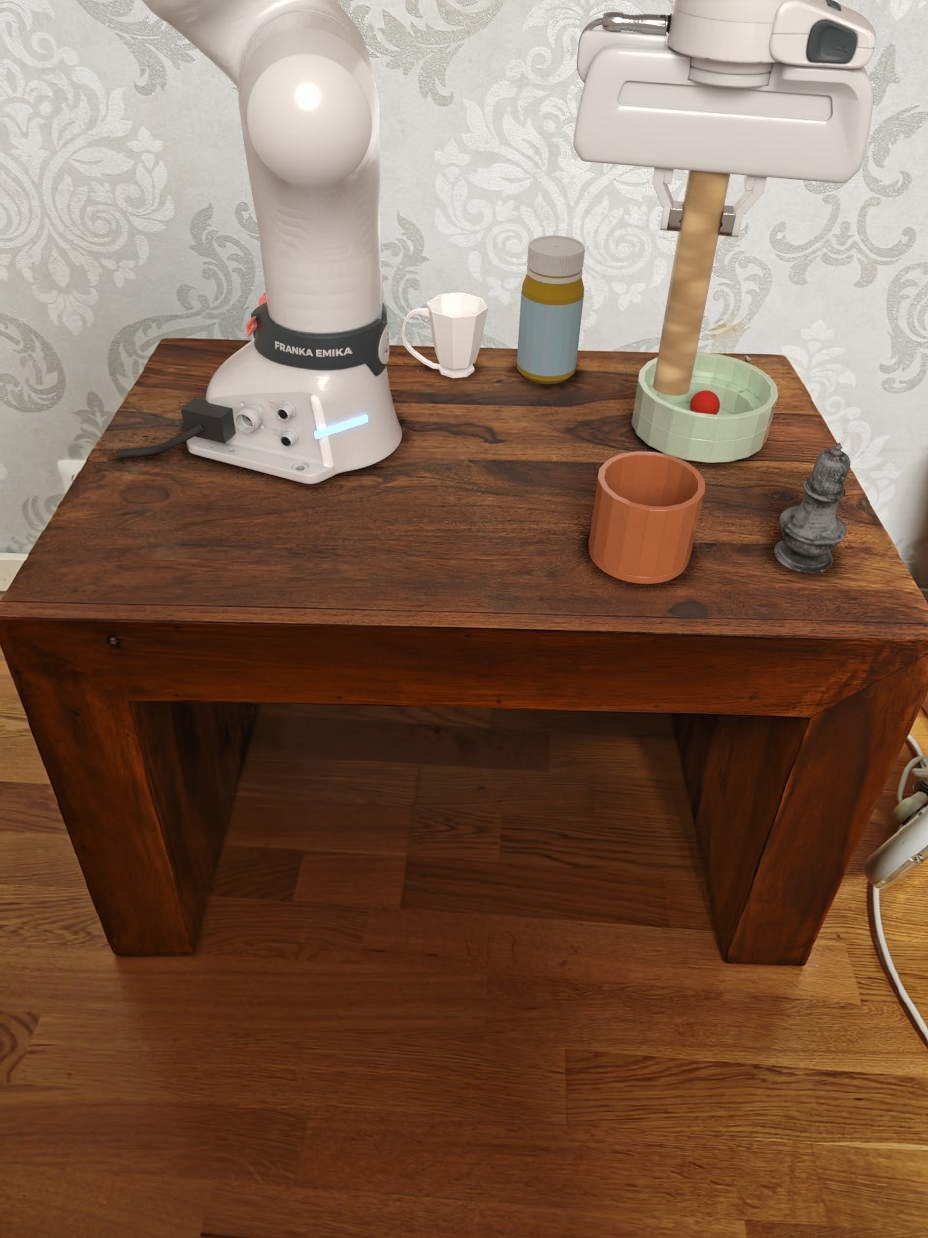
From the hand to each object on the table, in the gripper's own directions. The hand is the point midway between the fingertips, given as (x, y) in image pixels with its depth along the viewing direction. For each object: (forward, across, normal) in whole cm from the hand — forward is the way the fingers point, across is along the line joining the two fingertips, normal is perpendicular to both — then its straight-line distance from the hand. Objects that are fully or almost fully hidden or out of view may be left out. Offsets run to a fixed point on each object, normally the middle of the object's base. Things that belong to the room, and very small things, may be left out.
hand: (699, 231), depth 73 cm
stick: (+12, 0, -2) cm, 12 cm away
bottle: (+28, -13, +30) cm, 43 cm away
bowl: (+28, +5, +19) cm, 34 cm away
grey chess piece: (+28, +15, -1) cm, 32 cm away
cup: (+28, -25, +28) cm, 47 cm away
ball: (+26, +5, +21) cm, 34 cm away
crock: (+28, 0, -4) cm, 28 cm away
